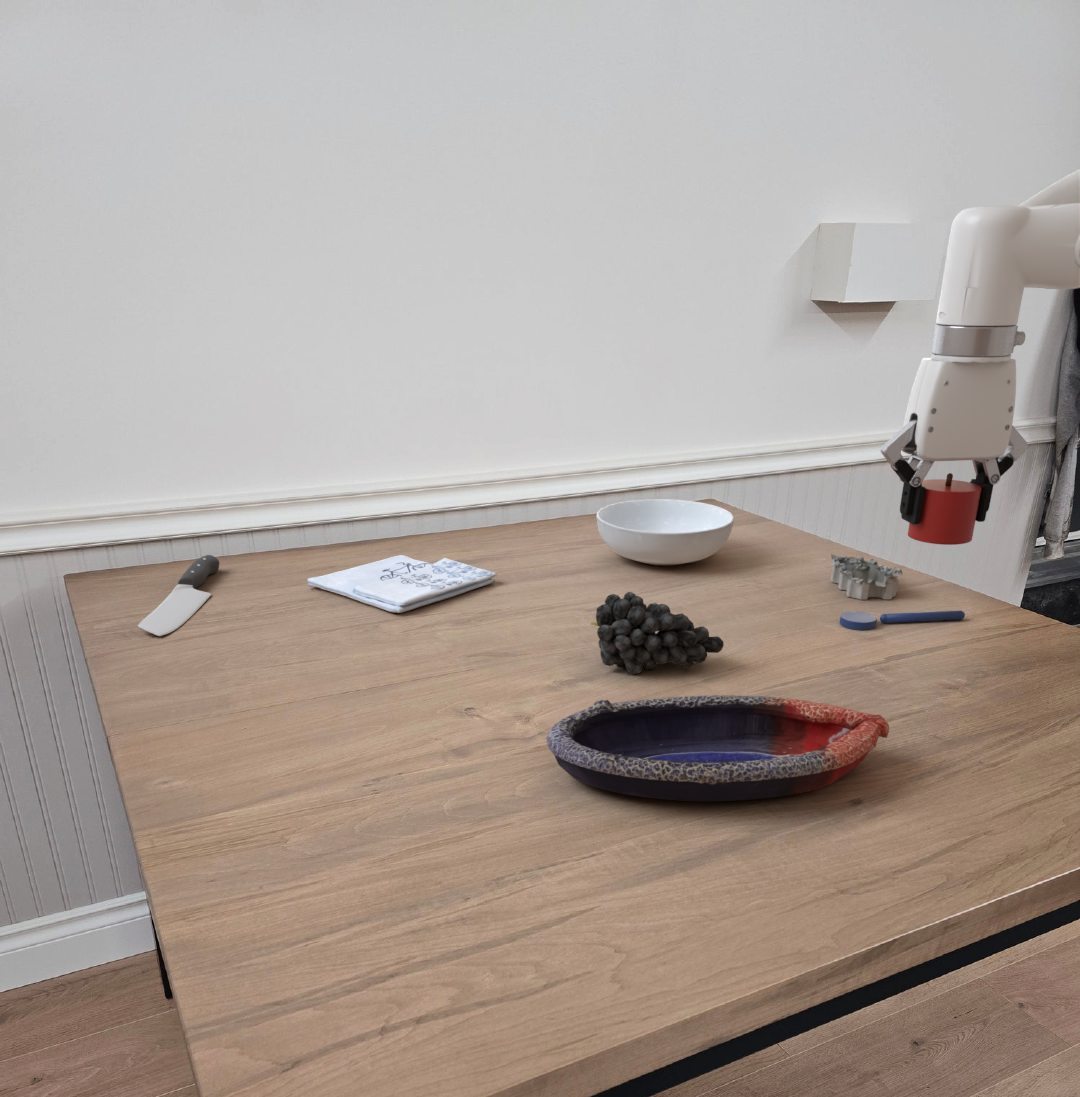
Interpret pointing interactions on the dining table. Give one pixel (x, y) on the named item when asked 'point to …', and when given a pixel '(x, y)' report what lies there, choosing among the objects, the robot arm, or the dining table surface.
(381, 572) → the folded tea towel
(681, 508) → the serving bowl
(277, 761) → the dining table surface
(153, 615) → the kitchen knife
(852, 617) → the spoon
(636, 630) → the fruit
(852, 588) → the egg carton
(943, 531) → the red stemmed cylinder
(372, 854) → the dining table surface
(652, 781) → the dish
